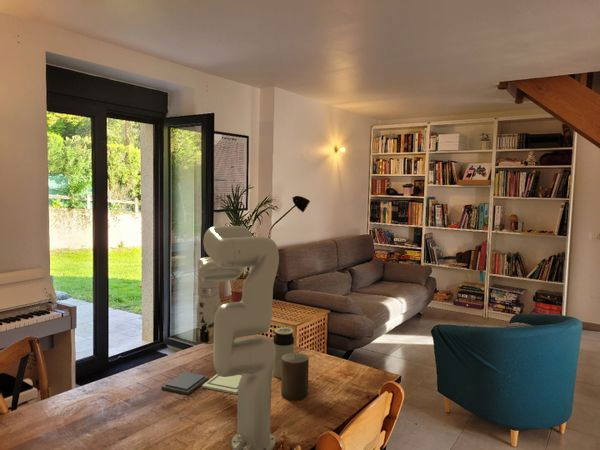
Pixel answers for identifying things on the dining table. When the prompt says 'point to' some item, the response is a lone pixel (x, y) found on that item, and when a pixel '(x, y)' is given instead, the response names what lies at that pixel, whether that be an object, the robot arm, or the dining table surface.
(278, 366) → the travel mug
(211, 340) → the stamp
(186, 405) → the dining table surface
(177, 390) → the grey flat block
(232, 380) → the board
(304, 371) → the pillar candle
